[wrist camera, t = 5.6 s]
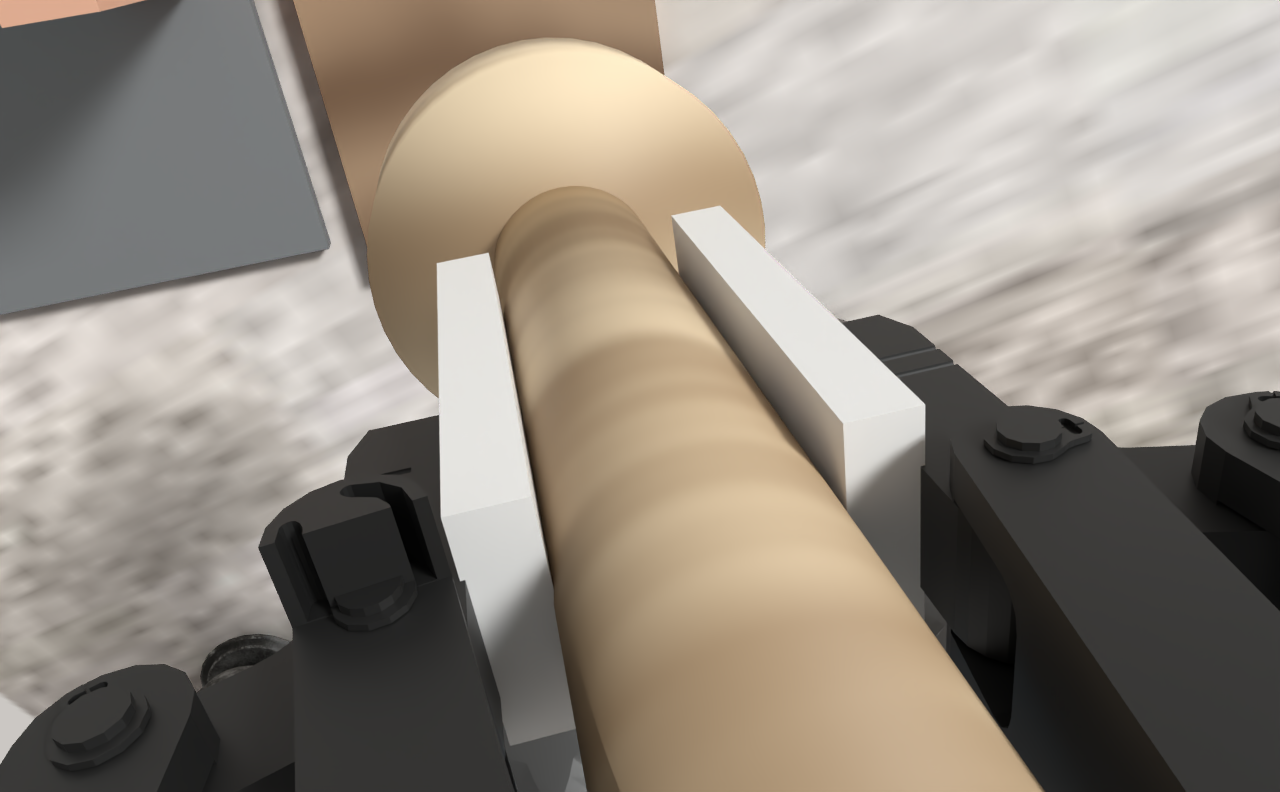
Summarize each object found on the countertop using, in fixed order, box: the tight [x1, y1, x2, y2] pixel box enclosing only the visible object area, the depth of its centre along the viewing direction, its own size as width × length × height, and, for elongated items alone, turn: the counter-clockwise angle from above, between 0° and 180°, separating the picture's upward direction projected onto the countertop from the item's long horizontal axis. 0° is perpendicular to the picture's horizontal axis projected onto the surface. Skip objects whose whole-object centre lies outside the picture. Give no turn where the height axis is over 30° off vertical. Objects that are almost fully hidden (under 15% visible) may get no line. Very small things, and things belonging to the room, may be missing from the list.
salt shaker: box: [200, 634, 290, 691], centre depth 42 cm, size 6×6×12 cm
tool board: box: [293, 0, 664, 245], centre depth 36 cm, size 13×13×1 cm
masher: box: [367, 38, 1045, 792], centre depth 12 cm, size 7×7×16 cm
